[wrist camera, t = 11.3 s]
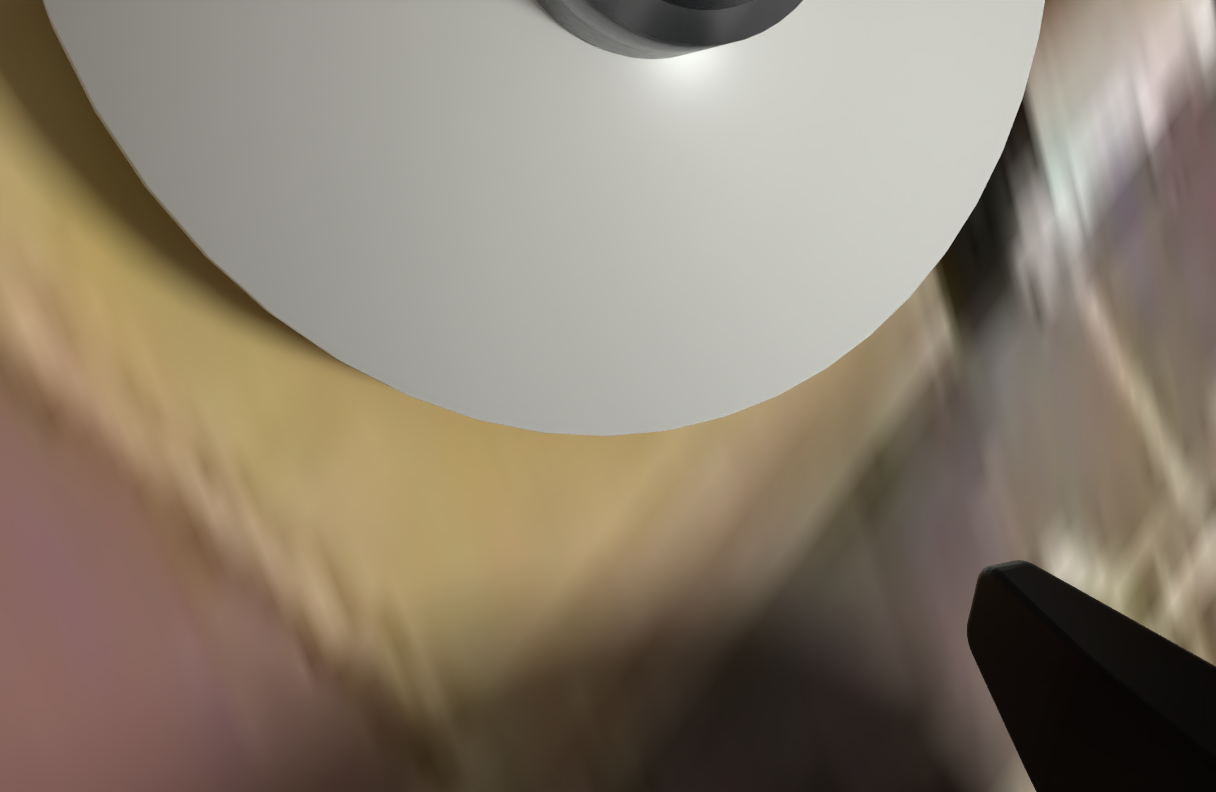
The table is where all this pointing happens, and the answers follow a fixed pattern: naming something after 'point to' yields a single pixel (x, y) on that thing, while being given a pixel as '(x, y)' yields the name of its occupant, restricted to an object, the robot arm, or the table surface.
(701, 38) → the brass-topped metal cylinder
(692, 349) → the white round disc
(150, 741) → the table surface
